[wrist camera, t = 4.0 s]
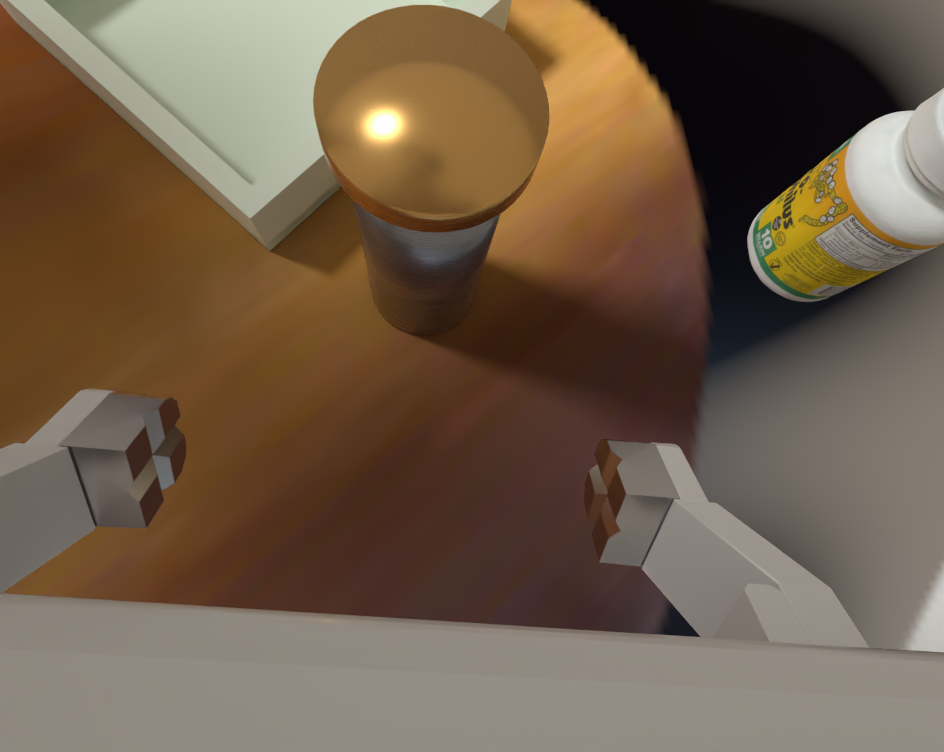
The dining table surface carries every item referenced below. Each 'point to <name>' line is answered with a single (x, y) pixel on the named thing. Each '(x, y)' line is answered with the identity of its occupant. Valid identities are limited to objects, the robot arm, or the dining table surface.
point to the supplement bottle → (857, 209)
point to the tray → (219, 87)
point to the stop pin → (429, 150)
